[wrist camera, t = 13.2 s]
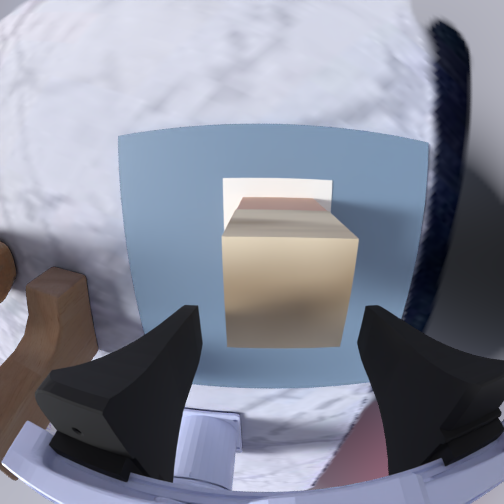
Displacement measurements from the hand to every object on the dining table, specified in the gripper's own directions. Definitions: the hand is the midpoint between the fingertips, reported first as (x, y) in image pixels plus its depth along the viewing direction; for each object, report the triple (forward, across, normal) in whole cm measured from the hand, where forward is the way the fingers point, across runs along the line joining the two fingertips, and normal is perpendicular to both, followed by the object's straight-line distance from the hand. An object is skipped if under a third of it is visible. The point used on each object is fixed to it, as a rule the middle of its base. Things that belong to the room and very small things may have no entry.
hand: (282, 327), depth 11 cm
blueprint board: (+9, 0, +2) cm, 9 cm away
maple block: (+3, 0, -2) cm, 4 cm away
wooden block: (+9, +19, +6) cm, 22 cm away
